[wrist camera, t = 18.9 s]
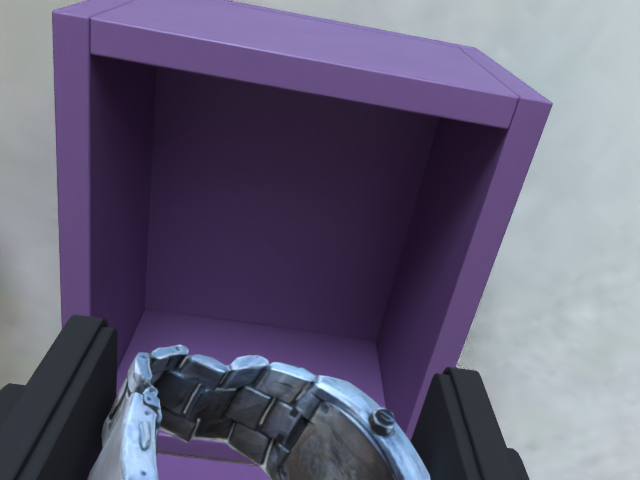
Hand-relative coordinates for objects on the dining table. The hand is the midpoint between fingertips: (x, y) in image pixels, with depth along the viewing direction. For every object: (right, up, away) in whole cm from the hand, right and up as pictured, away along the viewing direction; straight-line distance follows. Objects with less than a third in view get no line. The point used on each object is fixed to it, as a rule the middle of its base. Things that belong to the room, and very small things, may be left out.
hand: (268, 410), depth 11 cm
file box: (-1, +5, +17) cm, 18 cm away
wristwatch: (0, 0, +1) cm, 1 cm away
